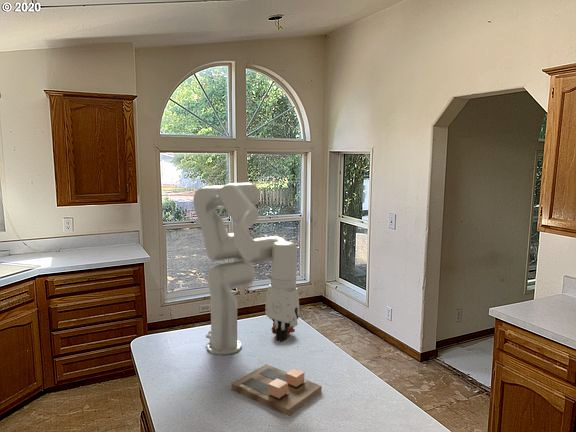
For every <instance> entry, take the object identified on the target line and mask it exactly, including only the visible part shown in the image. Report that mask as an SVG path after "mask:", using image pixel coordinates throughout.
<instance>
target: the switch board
mask: <svg viewBox="0 0 576 432" xmlns="http://www.w3.org/2000/svg"><path fill="white" fill-rule="evenodd" d="M287 372H288V371H284V370H282V369H279V368H276V367H274V366H272V365H270V364H264V365H262V366H260V367H259V368H257V369H255V370H253V371H252V372H249V373H247V374H245V375H244V376H242V377H240V378H238V379H237V380H235V381H233V382H231V384H230V385H231V391H233V392H235V393H238V394H240V395H242V396H244V397H246V398H248V399H250V400H253V401H255V402H257V403H259V404H261V405H263V406H265V407H268V408H269V409H271V410H274V411H276V412H278V413H280V414H282V415H284V416H286V417H290V416H291V415H293V414H294V413H296V411H298V410H300V409H301V408H302V407H303V406H305V405H306V404H308V403H309V402H310V401H311V400H313V399H315V397H317V396H318V395H320V394H321V393H322V385H321V384H318V383H315V382H313V381H311V380H308V379H305V378H304V382H303V383H302V384H300V385H299V386H297V387H295V386H293V385H290V384H288V393H286V394H285V395H283V396H282V397H280V398H277V397H275V396H272V395H270V394H268V384H269V383H270V382H272V381H274V380H275V379H277V378H278V379H280V380H282V381H285V382H286V373H287Z"/></svg>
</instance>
